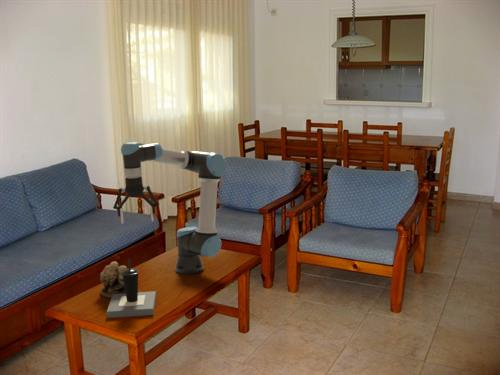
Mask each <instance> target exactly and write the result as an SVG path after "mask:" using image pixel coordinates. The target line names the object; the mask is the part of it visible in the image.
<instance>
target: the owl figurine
mask: <svg viewBox="0 0 500 375" xmlns="http://www.w3.org/2000/svg"><path fill="white" fill-rule="evenodd" d="M126 269H128V267H127V266H126V265H119V263H118V262H117V261H111V262H110V264H108V265H105V267H104V268H103V270H102V271H101V272H100V275H99V276H100V277H99V278H100V281H101V284H102V286H103V287H104V288H101V290H100V291H99V296H100V297H102V298H104V299H108V300H111V298H112V295H113V294H121V293H125V287H124V281H123V276H122V271H124V270H126Z"/></svg>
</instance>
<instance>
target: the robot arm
mask: <svg viewBox="0 0 500 375" xmlns="http://www.w3.org/2000/svg"><path fill="white" fill-rule="evenodd" d="M120 153H121V155H122V160H123V161H122V162H123V170H124V171H123V173H124V177H125V179H124V180H125V183H124V184H125V188H123V187H119V189H118V194H117V198H116V199H115V203H114V204H113V207H112V208H113V209H114V210H117V216H118V217H120V222H121V225H123V224H124V220H125V219H124V212H123V206H124V204H125V203H126V202H127V201H128V199H129V198H130V197H131V198H139V197H141V198H142V199H143V200H144V201H146V203H147V204H149V206H150V218H151V222H154V215H155V214H156V207H157V206H159V202H158V200H157V198H156V196H155V195H154V193H153V192H152V190H151V186H150V185H147V186H144V185H143V177H142V175H143V174H142V173H143V172H142V165H141V164H142V163H144V162H153V163H158V164H165V165H170V166H175V167H178V168H179V169H183V170H186V171H189V172H192V173H195V174H198V175H197V176H198V179H199V181H200V195H199V210H198V211H199V212H198V226H187V227H183V228H179V229H177V231H176V244H177V259H176V262H175V269H174V270H175V272H177V273H178V274H184V275H189V274H191V275H192V274H197V273H200V272H202V271H203V270H204V263H203V260H202V258H201V257H204V258H214V257H215V256H217V254H218V253H220V251H221V249H222V248H221V247H222V240H221V238H220V237H219V236H218V229H216V215H217V202H218V200H217V199H218V185H219V184H218V183H219V182H220V181H221V179H222V176H223V175H224V174H225V172H227V161H226V158H225V157H224V155H223V154H221V153H217V152H213V151H212V152H211V151H201V150H184V149H183V150H180V151H179V150H173V149H168V148H164V147H162V145H161V144H160V143H157V142H154V143H153V142H152V143H145V142H144V143H143V142H142V143H141V142H137V141H127V142H126V141H125V142H124V143H122V145H121V148H120ZM144 190H145V192H147V193H148V195H149V196H150V198H151V199H152V200H151V199H150V198H149V197H148V196H146V194H145V193H144ZM124 192H125V193H126V195H125V197H124V198H123V200H121V202H120V199H121V196H122V194H123V193H124ZM119 202H120V204H119ZM118 204H119V205H118ZM201 270H202V271H201ZM199 271H200V272H199Z"/></svg>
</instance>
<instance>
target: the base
mask: <svg viewBox="0 0 500 375" xmlns="http://www.w3.org/2000/svg"><path fill="white" fill-rule="evenodd" d="M156 292H157V291H156V290H154V291H153V290H152V291H138V300H137V301H136V302H127V299H126V293H121V294H113V295H112V298H111V299H110V301H109V303H108V307H107V310H106V318H107V319H113V318H116V319H117V318H128V317H141V316H142V317H143V316H154V314H155V306H156V300H157V293H156Z"/></svg>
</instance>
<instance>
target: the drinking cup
mask: <svg viewBox="0 0 500 375" xmlns="http://www.w3.org/2000/svg"><path fill="white" fill-rule="evenodd" d="M127 259H128V260H127V261H128V268H127V269H126V270H124V271H122V276H123V281H124V287H125V293H126V299H127V302H136V301H137V300H138V292H139V274H140V273H139V271H140V270H139V269H136V268H131V258H130V257H129V258H127Z"/></svg>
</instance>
